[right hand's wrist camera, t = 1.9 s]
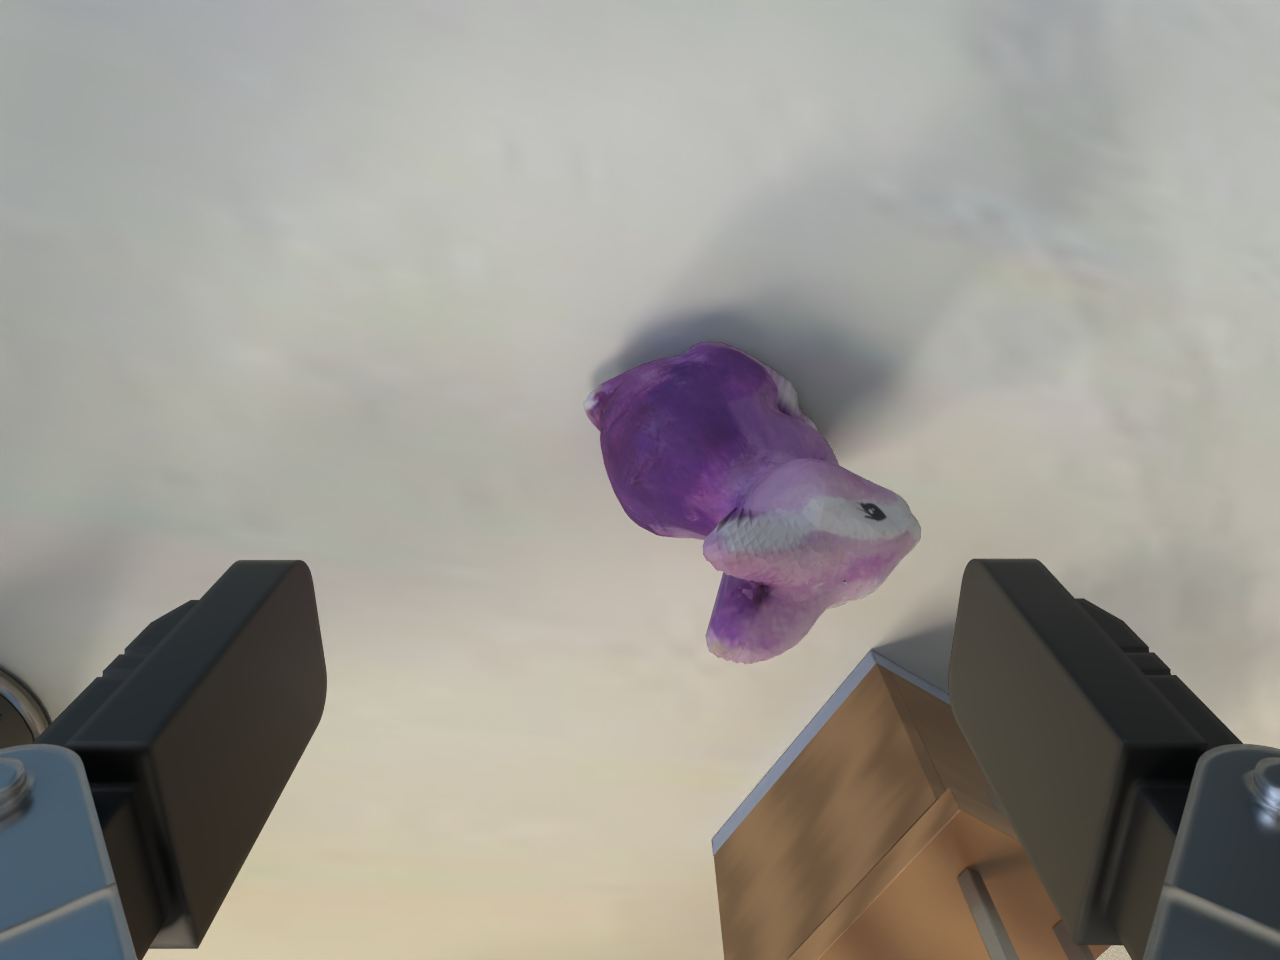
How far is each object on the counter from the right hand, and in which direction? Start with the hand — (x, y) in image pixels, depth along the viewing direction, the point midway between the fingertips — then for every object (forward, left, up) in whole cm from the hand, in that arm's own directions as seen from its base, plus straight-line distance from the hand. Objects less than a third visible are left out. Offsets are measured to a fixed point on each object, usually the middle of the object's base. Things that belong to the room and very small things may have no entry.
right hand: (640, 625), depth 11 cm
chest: (-15, -25, -29) cm, 41 cm away
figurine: (-3, -7, -29) cm, 30 cm away
